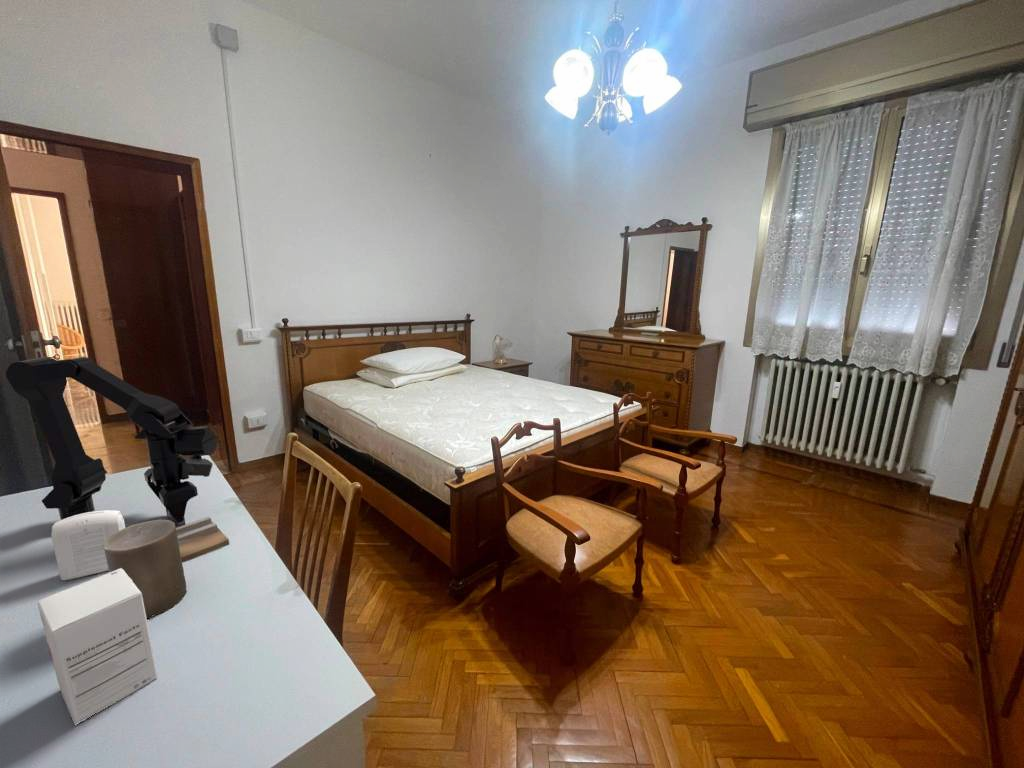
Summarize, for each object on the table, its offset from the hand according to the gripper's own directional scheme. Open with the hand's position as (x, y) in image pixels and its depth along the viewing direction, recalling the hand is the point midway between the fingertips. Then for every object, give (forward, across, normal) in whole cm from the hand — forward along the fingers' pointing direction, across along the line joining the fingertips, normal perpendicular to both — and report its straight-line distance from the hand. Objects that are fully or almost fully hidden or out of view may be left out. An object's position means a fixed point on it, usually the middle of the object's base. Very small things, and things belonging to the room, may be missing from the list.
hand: (175, 515), depth 101 cm
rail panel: (+2, -13, +1) cm, 13 cm away
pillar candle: (+2, -29, +10) cm, 31 cm away
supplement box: (+2, -45, +18) cm, 48 cm away
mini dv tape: (+2, 0, 0) cm, 2 cm away
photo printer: (+2, -10, +15) cm, 18 cm away
